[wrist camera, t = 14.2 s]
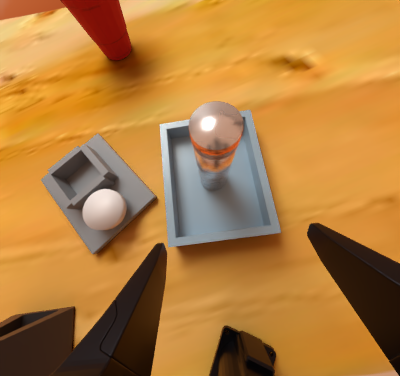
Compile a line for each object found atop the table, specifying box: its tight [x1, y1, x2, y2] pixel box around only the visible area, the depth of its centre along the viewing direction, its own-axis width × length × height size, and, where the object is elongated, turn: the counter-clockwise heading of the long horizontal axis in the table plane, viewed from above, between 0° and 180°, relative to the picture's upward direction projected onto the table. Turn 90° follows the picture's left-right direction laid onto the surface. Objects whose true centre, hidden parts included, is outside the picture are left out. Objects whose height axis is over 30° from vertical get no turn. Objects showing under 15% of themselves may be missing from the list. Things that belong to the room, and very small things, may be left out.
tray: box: [160, 110, 281, 247], centre depth 23 cm, size 18×14×4 cm
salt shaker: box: [189, 101, 244, 191], centre depth 18 cm, size 4×4×13 cm
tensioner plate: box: [41, 134, 157, 254], centre depth 24 cm, size 16×12×4 cm
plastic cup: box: [61, 0, 131, 60], centre depth 28 cm, size 11×11×12 cm
